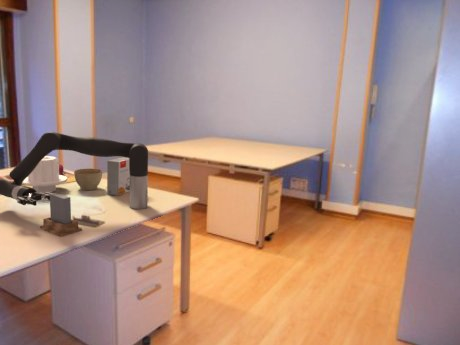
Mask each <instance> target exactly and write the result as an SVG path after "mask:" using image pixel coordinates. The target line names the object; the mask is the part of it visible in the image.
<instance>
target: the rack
mask: <svg viewBox="0 0 460 345" xmlns="http://www.w3.org/2000/svg"><path fill="white" fill-rule="evenodd" d="M42 222H43V224H42V225H39V229H40V230H44V231H47V232H49V233H51V234H53V235H56V236H58V237H60V238H61V237H65V236H68V235H71V234H75V233H77V232H80V231H83V228H82V227H80V226H79V221H78V220H74V219H72V218H71V223H69V224H65V225H63V224H61V223H58V222H55V221H53V220H51V216H50V217H47V218H43V221H42Z"/></svg>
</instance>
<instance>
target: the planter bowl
mask: <svg viewBox="0 0 460 345" xmlns="http://www.w3.org/2000/svg"><path fill="white" fill-rule="evenodd" d="M103 172H104V171H103V169H100V168H91V167H90V168H89V167H88V168H80V169H76V170H74V171H73V174H74V179H75V182H76V184H77V185H78V186H79V188H80V190H83V191H93V190H97V189H98V186H99V185H100V183H101V181H102V179H103V178H102V177H103Z"/></svg>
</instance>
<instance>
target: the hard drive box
mask: <svg viewBox="0 0 460 345" xmlns="http://www.w3.org/2000/svg"><path fill="white" fill-rule="evenodd" d="M106 165H107V166H106V169H107V172H106V173H107V177H106V178H107V180H106V181H107V182H106V183H107V184H106V188H107V189H106V194H107V195H111V196H116V197H118V196H122V195H123V194H126V193H130V171H129V158H127V157H118V158H114V159H109V160H107V164H106Z"/></svg>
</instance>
